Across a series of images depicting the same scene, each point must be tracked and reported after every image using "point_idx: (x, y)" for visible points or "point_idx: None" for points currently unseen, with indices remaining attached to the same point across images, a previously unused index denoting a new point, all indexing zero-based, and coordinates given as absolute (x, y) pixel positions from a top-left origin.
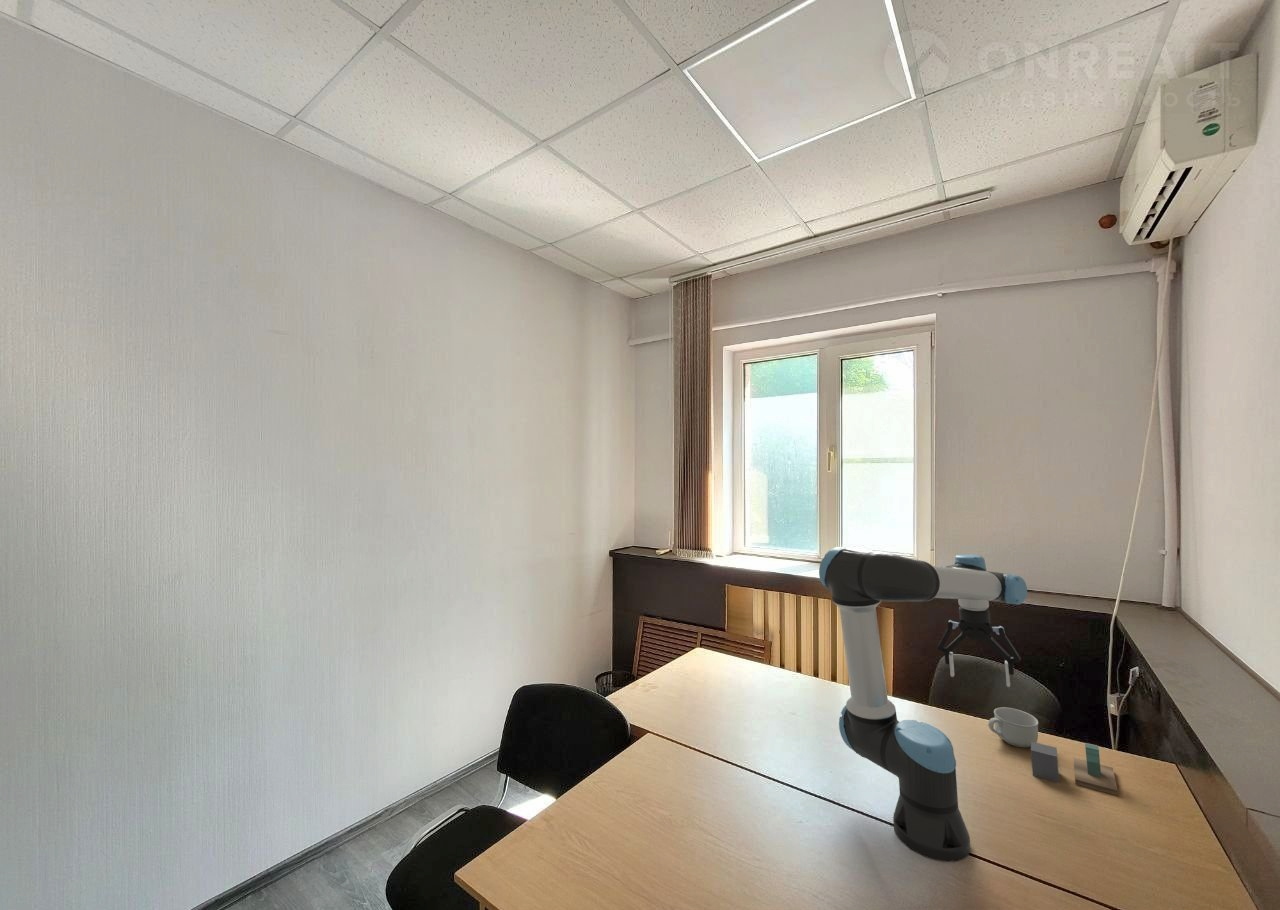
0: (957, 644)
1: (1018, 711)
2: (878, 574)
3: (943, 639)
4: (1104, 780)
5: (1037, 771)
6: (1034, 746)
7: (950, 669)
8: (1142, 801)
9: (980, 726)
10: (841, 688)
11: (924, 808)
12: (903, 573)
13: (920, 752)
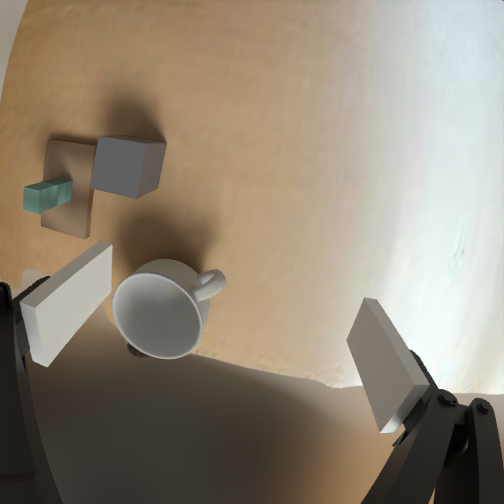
0: (403, 471)
1: (148, 350)
2: None
3: (497, 472)
4: (56, 167)
5: (154, 141)
6: (133, 170)
7: (389, 320)
8: (31, 140)
9: (237, 335)
10: (460, 385)
11: None
12: None
13: None
